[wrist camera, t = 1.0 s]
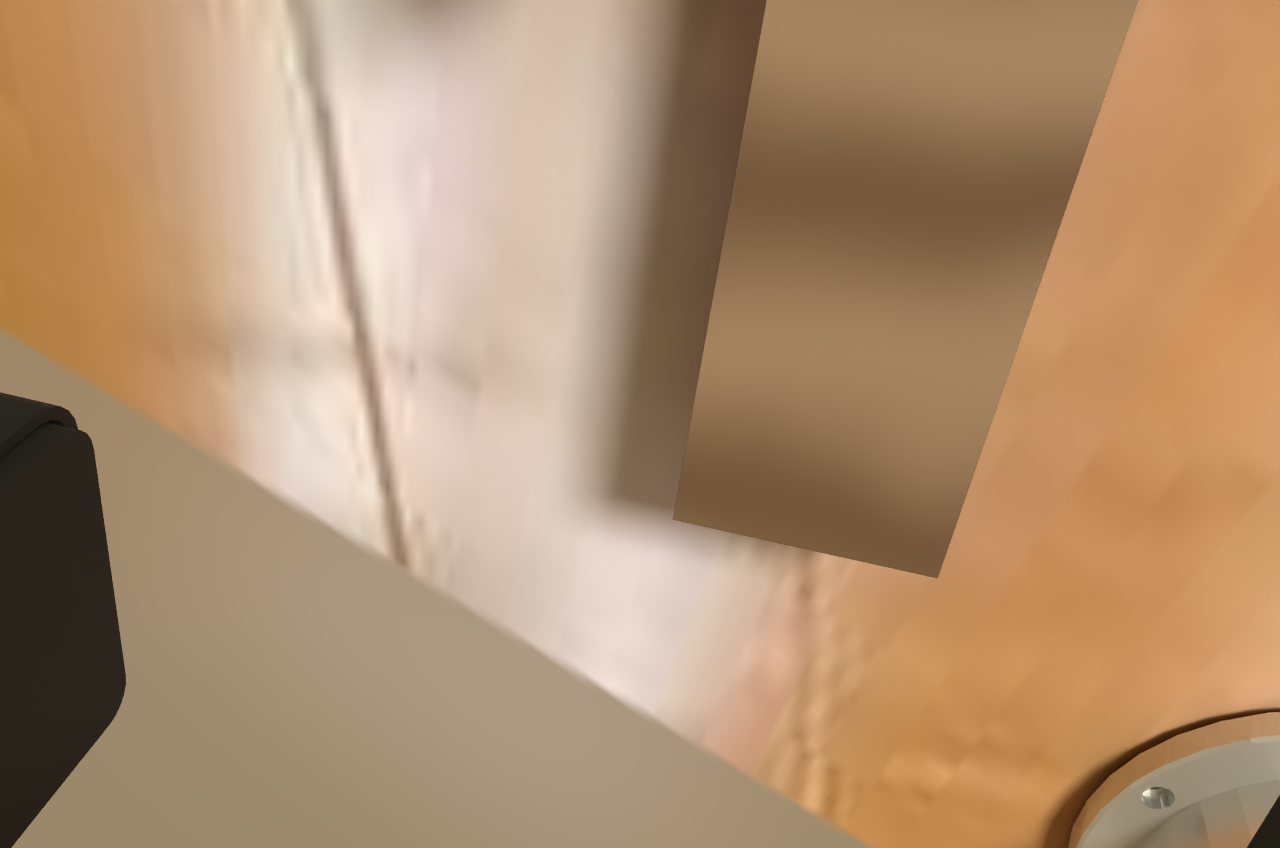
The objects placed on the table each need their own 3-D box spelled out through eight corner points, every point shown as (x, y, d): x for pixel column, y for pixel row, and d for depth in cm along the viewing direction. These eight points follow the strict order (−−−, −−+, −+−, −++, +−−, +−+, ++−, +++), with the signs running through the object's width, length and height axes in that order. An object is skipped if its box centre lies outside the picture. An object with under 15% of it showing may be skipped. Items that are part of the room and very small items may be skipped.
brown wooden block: (934, 455, 31) (937, 578, 26) (704, 406, 31) (672, 519, 27) (1162, -256, 22) (1221, -239, 18) (838, -307, 22) (821, -302, 18)
